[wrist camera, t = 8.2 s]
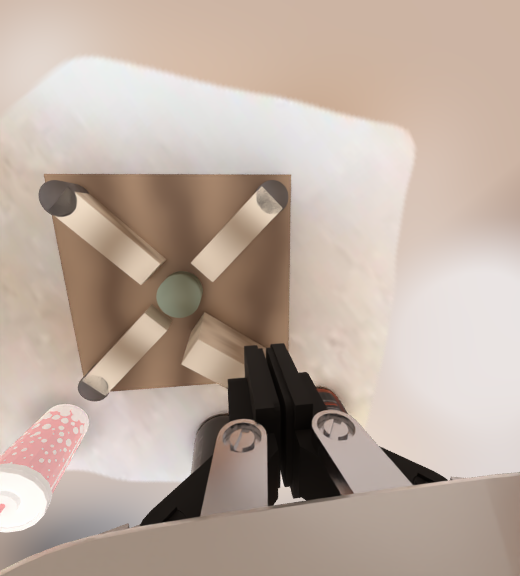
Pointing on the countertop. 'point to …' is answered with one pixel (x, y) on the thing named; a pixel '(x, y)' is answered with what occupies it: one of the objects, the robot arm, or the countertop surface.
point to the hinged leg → (216, 350)
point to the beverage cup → (38, 465)
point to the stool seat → (167, 268)
